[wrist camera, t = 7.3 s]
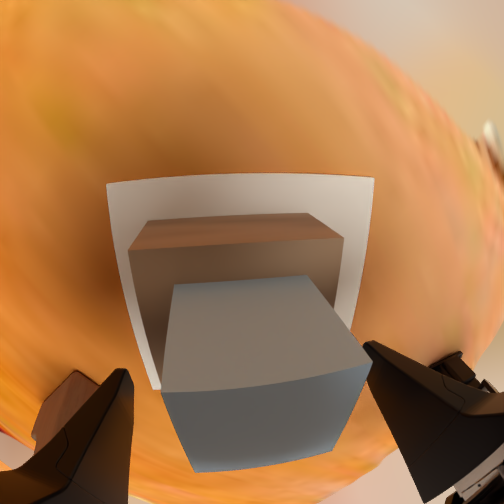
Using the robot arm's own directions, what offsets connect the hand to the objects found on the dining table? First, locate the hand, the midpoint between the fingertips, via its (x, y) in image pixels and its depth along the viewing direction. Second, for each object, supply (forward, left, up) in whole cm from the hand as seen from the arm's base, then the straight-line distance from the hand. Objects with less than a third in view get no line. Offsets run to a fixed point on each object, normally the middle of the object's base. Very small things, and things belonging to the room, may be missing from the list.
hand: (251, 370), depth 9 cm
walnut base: (0, 0, -6) cm, 6 cm away
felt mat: (-1, -1, -6) cm, 7 cm away
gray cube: (0, 0, -2) cm, 2 cm away
